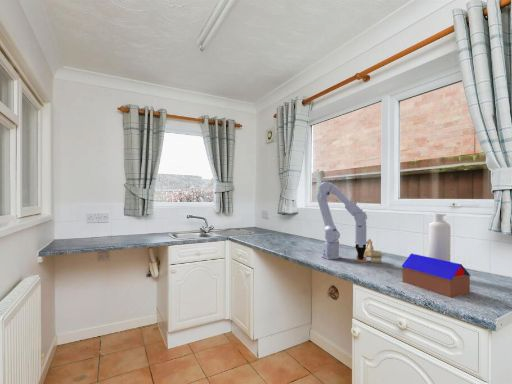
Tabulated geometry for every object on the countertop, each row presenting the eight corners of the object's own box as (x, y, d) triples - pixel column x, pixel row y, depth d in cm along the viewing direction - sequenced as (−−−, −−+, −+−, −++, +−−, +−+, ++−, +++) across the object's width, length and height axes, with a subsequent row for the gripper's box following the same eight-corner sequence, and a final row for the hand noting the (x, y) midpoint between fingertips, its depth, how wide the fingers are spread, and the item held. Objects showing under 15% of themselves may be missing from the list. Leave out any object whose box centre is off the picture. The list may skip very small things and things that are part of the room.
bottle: (443, 280, 120) (443, 215, 120) (425, 275, 127) (425, 213, 127) (454, 277, 123) (454, 214, 124) (435, 273, 131) (435, 213, 131)
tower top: (381, 258, 148) (381, 252, 148) (371, 257, 149) (371, 251, 149) (380, 256, 152) (380, 250, 152) (370, 255, 154) (370, 250, 154)
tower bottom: (381, 264, 148) (381, 258, 148) (371, 263, 149) (371, 257, 149) (380, 261, 152) (380, 256, 152) (370, 261, 154) (370, 255, 154)
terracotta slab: (366, 262, 150) (366, 256, 150) (356, 261, 152) (356, 256, 152) (366, 260, 155) (366, 255, 155) (356, 259, 157) (356, 254, 157)
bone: (383, 251, 172) (377, 255, 160) (371, 260, 177) (364, 264, 165) (371, 237, 177) (364, 240, 165) (359, 246, 181) (352, 250, 169)
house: (450, 298, 99) (450, 265, 99) (401, 282, 117) (401, 254, 117) (471, 294, 104) (471, 262, 104) (420, 278, 122) (420, 252, 122)
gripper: (368, 235, 145) (368, 261, 145) (368, 232, 159) (368, 256, 159) (354, 235, 148) (354, 260, 148) (355, 231, 162) (355, 255, 161)
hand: (360, 258), depth 154 cm, fingers closed on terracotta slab, 5 cm apart
